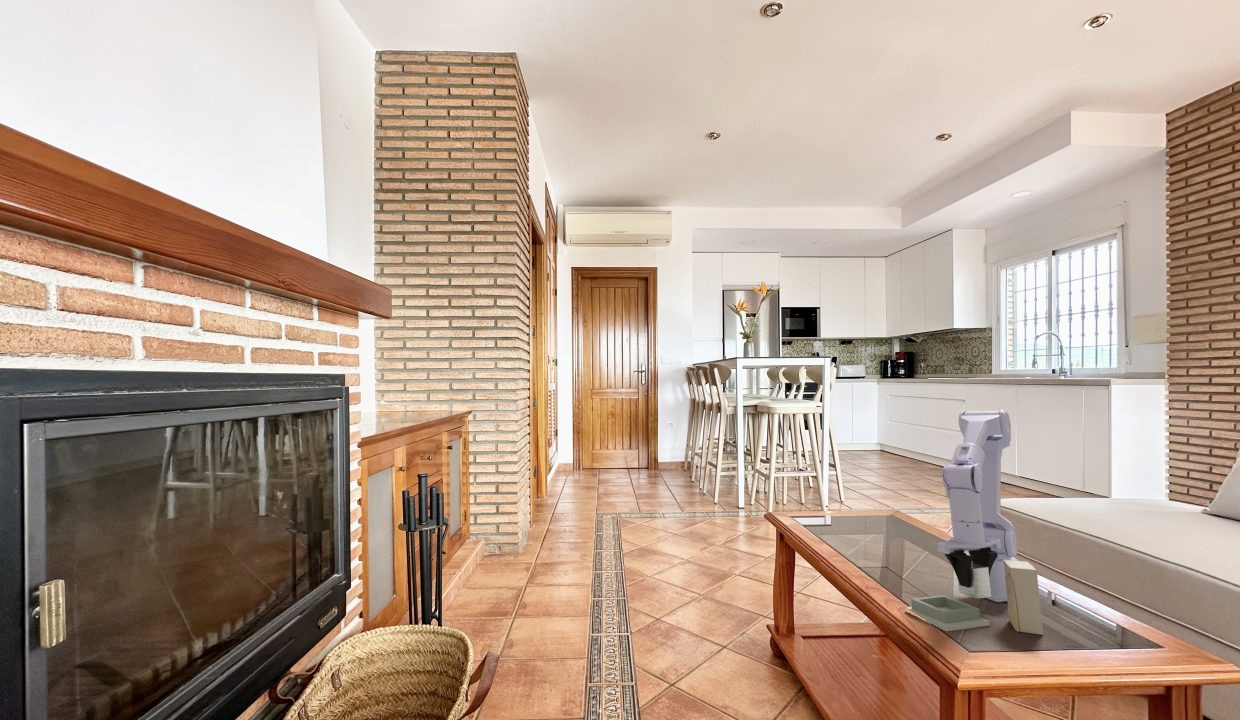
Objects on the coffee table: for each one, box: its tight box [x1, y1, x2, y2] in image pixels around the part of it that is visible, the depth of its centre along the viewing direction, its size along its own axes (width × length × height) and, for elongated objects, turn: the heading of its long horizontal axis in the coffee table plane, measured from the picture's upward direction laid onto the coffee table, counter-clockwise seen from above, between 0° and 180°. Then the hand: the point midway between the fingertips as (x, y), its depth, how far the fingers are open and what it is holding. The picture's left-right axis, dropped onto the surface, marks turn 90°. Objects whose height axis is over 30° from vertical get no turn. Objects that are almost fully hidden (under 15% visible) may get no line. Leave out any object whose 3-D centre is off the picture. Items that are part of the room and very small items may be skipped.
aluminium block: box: [957, 562, 991, 600], centre depth 108 cm, size 4×4×6 cm
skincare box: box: [1003, 560, 1044, 636], centre depth 99 cm, size 6×4×12 cm
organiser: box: [906, 594, 991, 632], centre depth 104 cm, size 10×10×3 cm
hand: (973, 585), depth 107 cm, fingers closed on aluminium block, 4 cm apart
